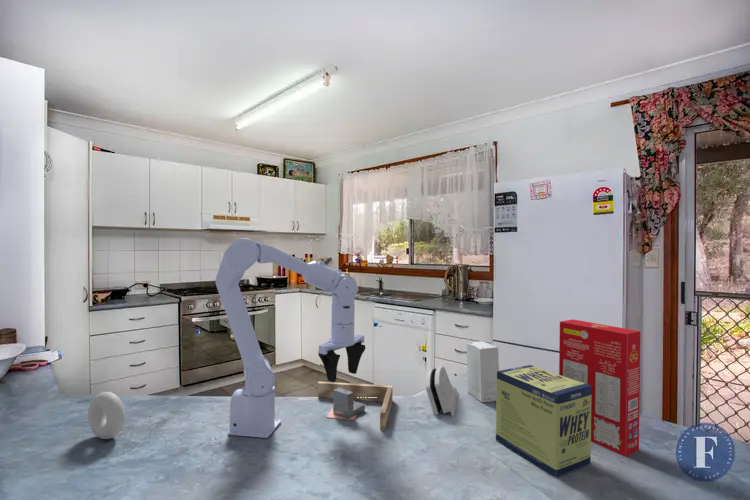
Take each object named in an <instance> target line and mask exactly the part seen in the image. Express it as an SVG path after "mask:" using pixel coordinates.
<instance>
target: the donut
mask: <svg viewBox="0 0 750 500" xmlns="http://www.w3.org/2000/svg"><path fill="white" fill-rule="evenodd" d="M125 411H126V410H125V406H124V403H123V402H122V399H121V398H120V397H119V396H118V395H117V394H116V393H113V392H112V391H102V392H100V393H98V394H97V395H95V396H94V397H93V398H92V400H91V401H90V403H89V406H88V410H87V420H88V424H89V427H90V429H91V431H92V433H93V434H94V436H96V437H97V438H99V439H102V440H109V439H113V438H114V437H116V436H118V434H119V433H120V432H121V431H122V429H123V427H124V424H125V422H126V421H125V420H126V412H125Z"/></svg>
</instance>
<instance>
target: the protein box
mask: <svg viewBox="0 0 750 500" xmlns="http://www.w3.org/2000/svg"><path fill="white" fill-rule="evenodd" d="M591 390H592V386H591V385H588V384H585V383H582V382H579V381H576V380H573V379H570V378H567V377H564V376H561V375H559V373H555V372H553V371H552V372H551V371H548V370H546V369H543V368H540V367H538V366H535V365H532V364H528V365H524V366H523V365H522V366H517V367H512V368H507V369H501V370H500V369H499V371H497V399H496V401H495V402H496V404H495V405H496V411H495V412H496V415H495V418H496V419H495V440H496V441H497V442H498V443H499V444H501V445H503V446H504V447H506V448H508V449H509V450H511V451H512V452H514V453H516V454H517V455H519V456H520V457H522V458H523V459H525V460H527V461H528V462H530V463H531V464H533V465H534V466H536V467H538V468H540V469H541V470H543V471H544V472H546V473H548V474H549V475H550V476H552V477H554V478H558V477H561V476H563V475H567V474H569V473H571V472H573V471H576V470H578V469H580V468H583V467H586V466H587V465H590V464H591V463H592V462H591V451H592V450H591V445H592V443H591V393H592V392H591Z"/></svg>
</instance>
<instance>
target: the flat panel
mask: <svg viewBox="0 0 750 500" xmlns="http://www.w3.org/2000/svg"><path fill="white" fill-rule="evenodd" d="M326 418H327V419H335V420H337V419H338V420H339V419H340V420H347V419H346V418H343V417H341V416H338V415H336V414H333V407H332V408H331V409H330V410H329V413H328V414H327V416H326ZM356 418H357V415H355V416H353V417H351V418H349V419H348V420H351V421H352V420H353V421H355V420H356Z"/></svg>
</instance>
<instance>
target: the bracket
mask: <svg viewBox="0 0 750 500" xmlns="http://www.w3.org/2000/svg"><path fill="white" fill-rule="evenodd" d="M353 398H354V392H351V391H348V390H345V389H342V388H337V389H334V390H333V398H332V399H333V400H332V401H333V405H332V408H333V414H336V415H338V416H341V417H343V418H346V419H345V420H349V418H351V417H353V416H355V415H356V416H358V415H359V414H361V413H363V412H365V411H366V403H365V404H364V403H362V402H359V401H357V400H353Z"/></svg>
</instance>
